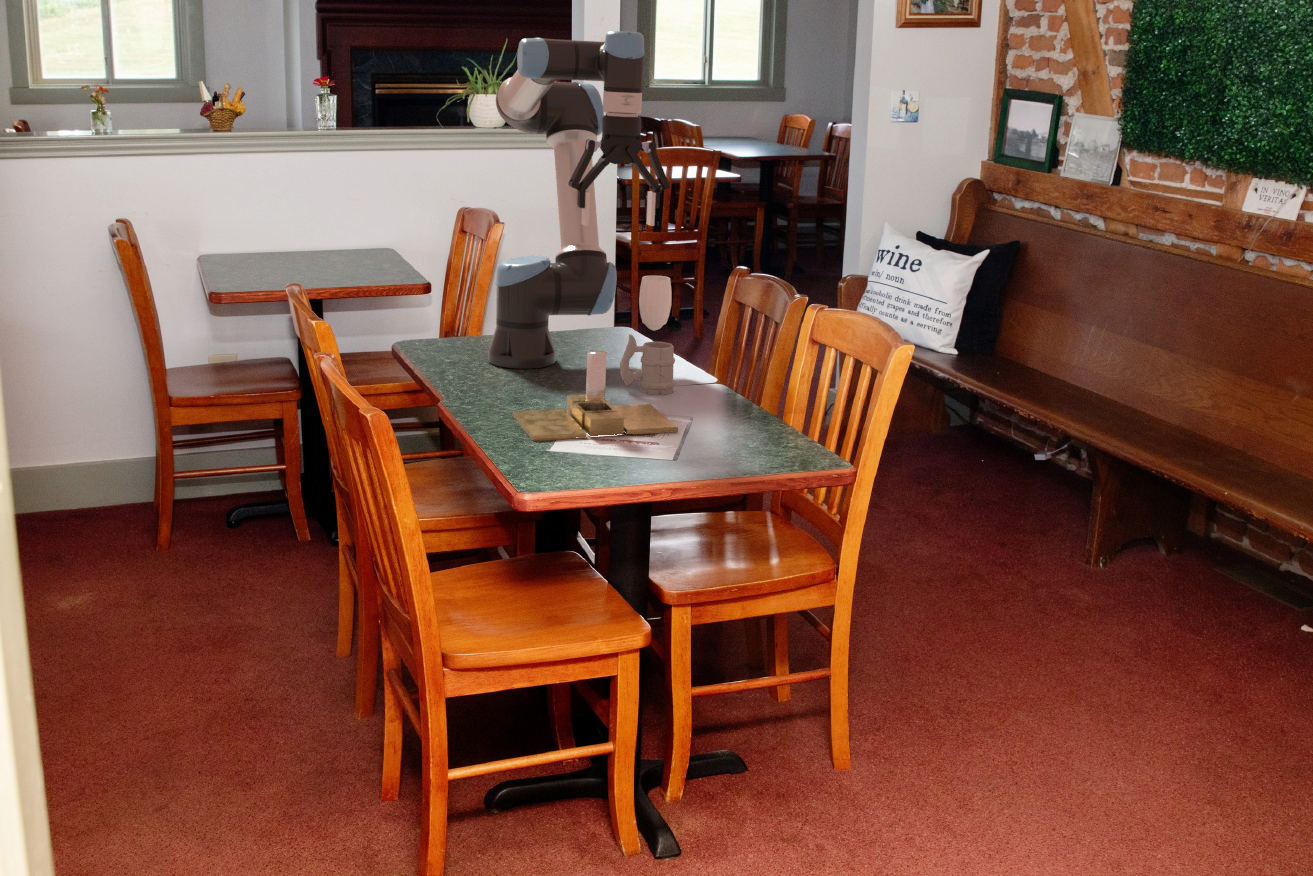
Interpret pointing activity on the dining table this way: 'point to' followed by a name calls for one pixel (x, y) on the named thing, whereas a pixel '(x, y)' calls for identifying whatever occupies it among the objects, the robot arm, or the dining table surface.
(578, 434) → the fixed leaf
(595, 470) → the dining table surface
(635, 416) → the hinge flap with knuckles
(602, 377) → the pin
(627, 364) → the mug
